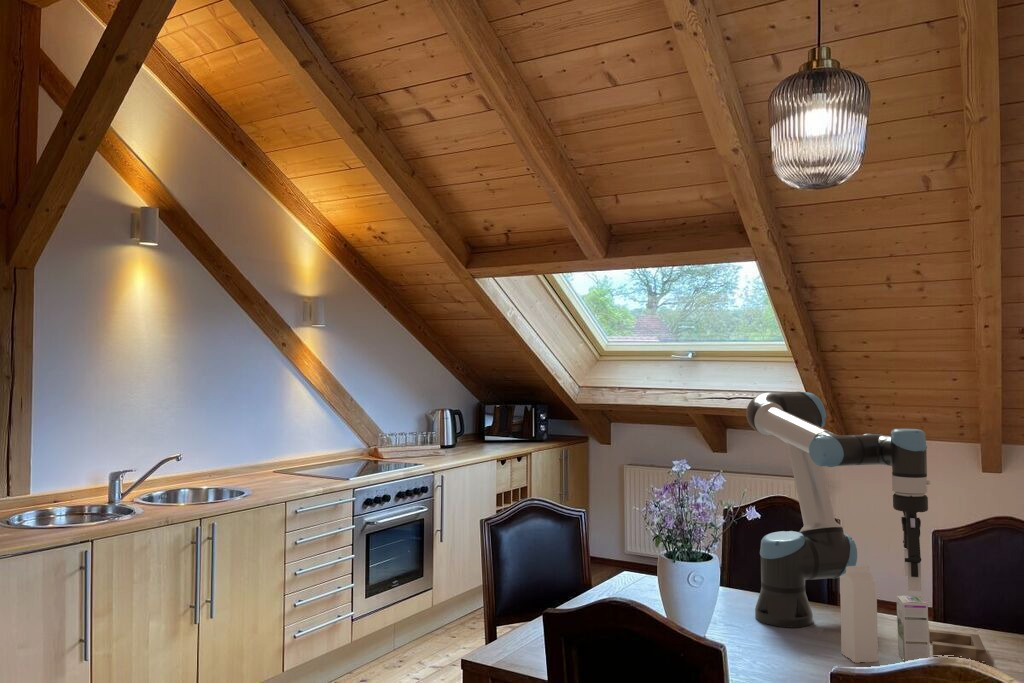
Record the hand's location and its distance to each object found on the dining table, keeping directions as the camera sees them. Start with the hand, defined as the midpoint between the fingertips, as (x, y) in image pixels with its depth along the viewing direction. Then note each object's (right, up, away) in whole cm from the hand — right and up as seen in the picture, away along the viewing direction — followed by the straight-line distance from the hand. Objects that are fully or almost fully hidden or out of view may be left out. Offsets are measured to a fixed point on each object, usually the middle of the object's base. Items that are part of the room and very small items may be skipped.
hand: (912, 583), depth 188 cm
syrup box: (0, -18, 0) cm, 18 cm away
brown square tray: (+12, -18, +5) cm, 23 cm away
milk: (-12, -19, +1) cm, 22 cm away
